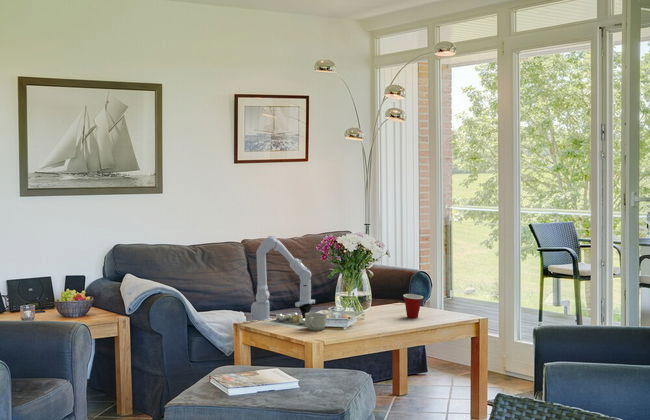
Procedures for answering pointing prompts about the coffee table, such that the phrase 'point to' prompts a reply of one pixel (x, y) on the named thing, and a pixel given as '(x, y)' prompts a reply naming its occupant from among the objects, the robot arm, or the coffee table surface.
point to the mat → (285, 324)
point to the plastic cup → (412, 305)
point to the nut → (295, 318)
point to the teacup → (315, 321)
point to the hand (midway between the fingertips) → (305, 318)
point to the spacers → (289, 318)
